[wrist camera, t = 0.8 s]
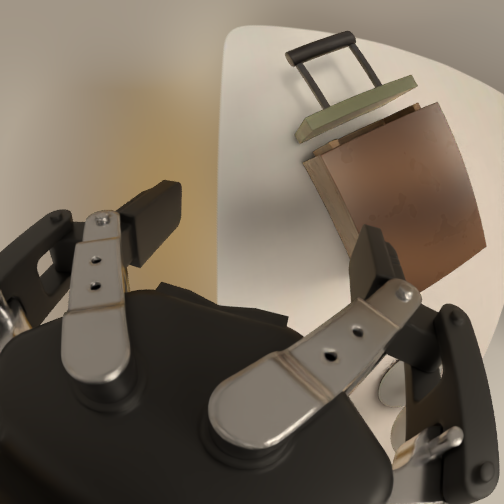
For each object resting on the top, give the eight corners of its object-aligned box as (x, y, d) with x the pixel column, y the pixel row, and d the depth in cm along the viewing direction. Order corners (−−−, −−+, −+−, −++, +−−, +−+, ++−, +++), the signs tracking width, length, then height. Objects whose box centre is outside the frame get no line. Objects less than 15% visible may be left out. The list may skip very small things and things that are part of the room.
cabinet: (302, 162, 31) (320, 155, 20) (391, 120, 29) (437, 101, 18) (356, 273, 34) (389, 311, 23) (435, 227, 31) (486, 246, 21)
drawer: (263, 85, 28) (262, 53, 19) (348, 50, 26) (371, 16, 17) (349, 242, 32) (376, 264, 23) (425, 199, 30) (468, 207, 21)
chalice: (453, 373, 37) (493, 425, 23) (392, 419, 40) (416, 480, 26) (430, 327, 35) (482, 386, 21) (357, 384, 38) (384, 458, 23)
